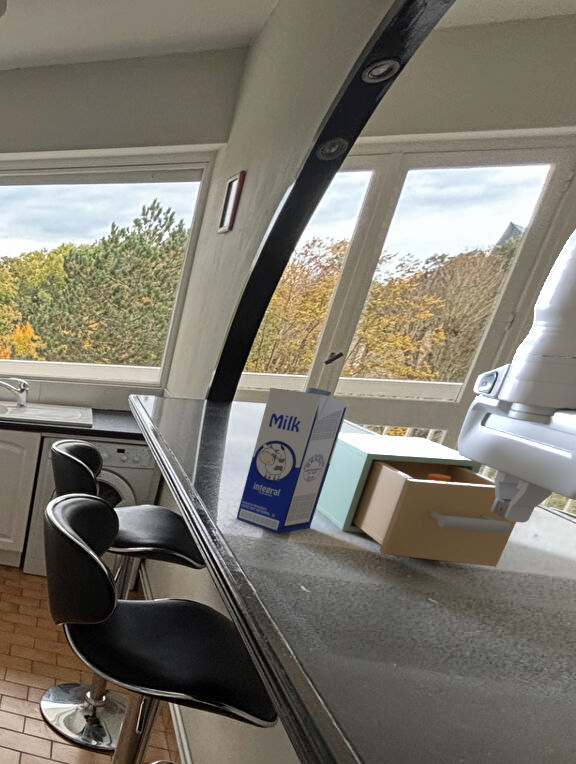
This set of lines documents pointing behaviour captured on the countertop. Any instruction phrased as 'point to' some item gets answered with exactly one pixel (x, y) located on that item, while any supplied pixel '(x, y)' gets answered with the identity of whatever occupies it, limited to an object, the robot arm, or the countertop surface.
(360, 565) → the countertop surface
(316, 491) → the milk carton
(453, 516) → the drawer
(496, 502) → the robot arm
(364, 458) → the cabinet
